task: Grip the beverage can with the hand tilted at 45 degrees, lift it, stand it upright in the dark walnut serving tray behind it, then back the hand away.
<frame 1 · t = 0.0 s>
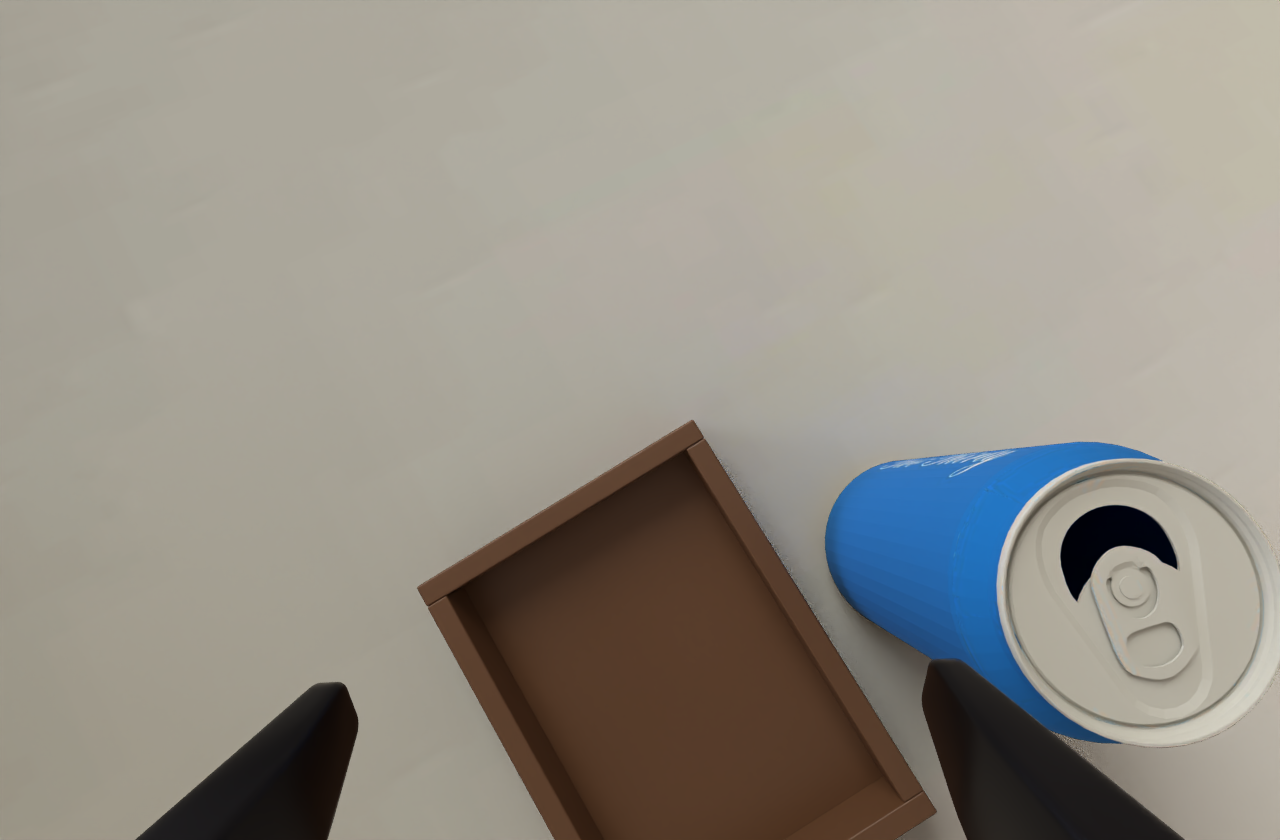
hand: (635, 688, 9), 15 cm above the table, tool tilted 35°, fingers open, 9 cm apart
beverage can: (900, 542, 24), on the table
tray: (667, 673, 24), on the table
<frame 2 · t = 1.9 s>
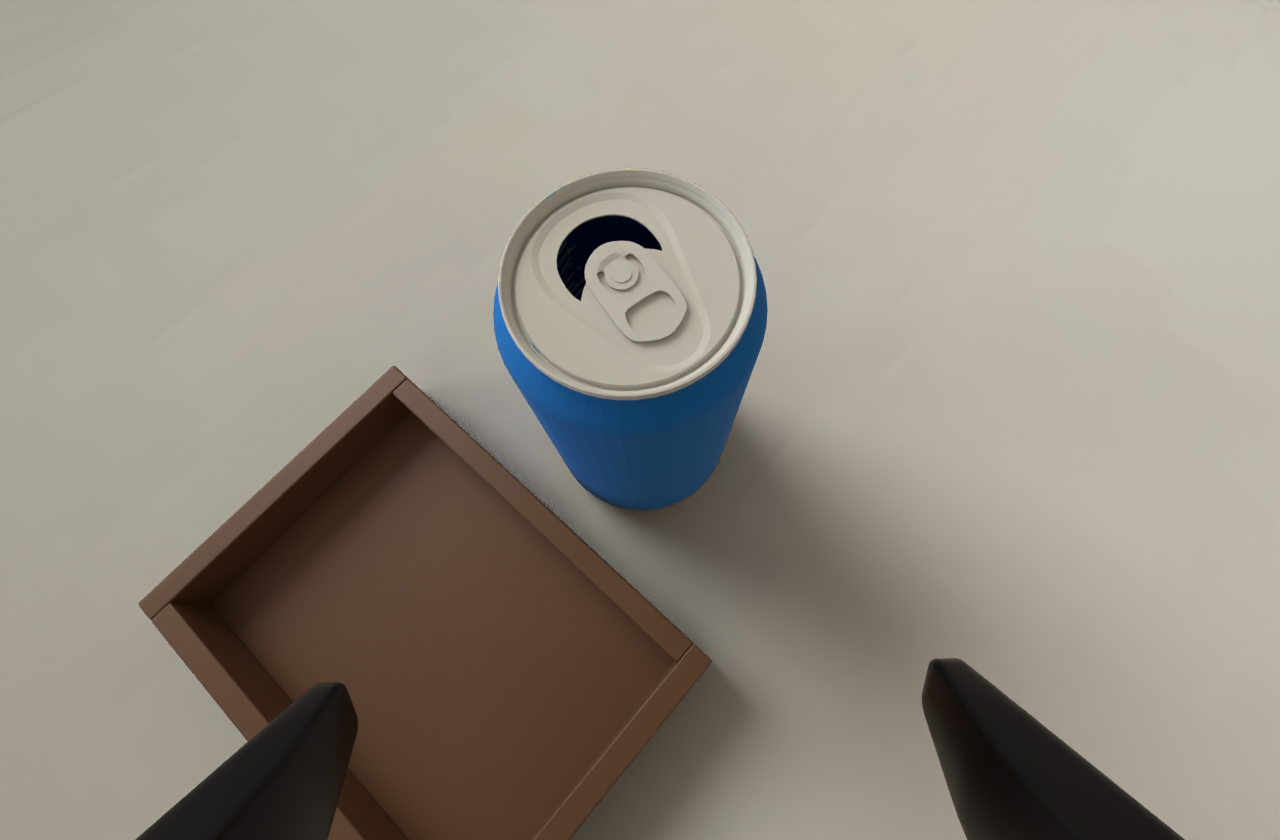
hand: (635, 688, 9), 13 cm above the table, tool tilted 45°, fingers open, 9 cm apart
beverage can: (642, 434, 25), on the table
tray: (443, 630, 23), on the table
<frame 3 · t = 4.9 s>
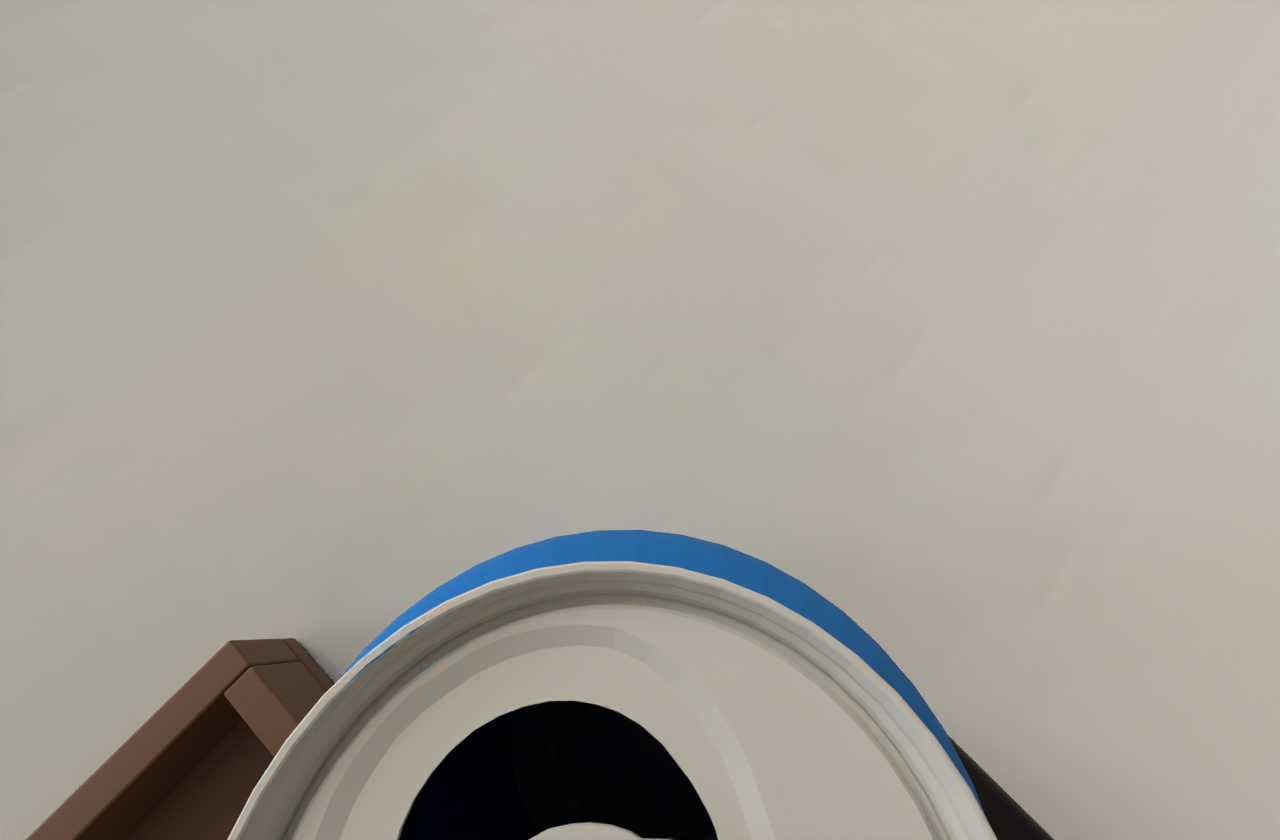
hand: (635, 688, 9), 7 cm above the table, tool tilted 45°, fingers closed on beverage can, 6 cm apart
beverage can: (647, 722, 15), on the table, touching gripper
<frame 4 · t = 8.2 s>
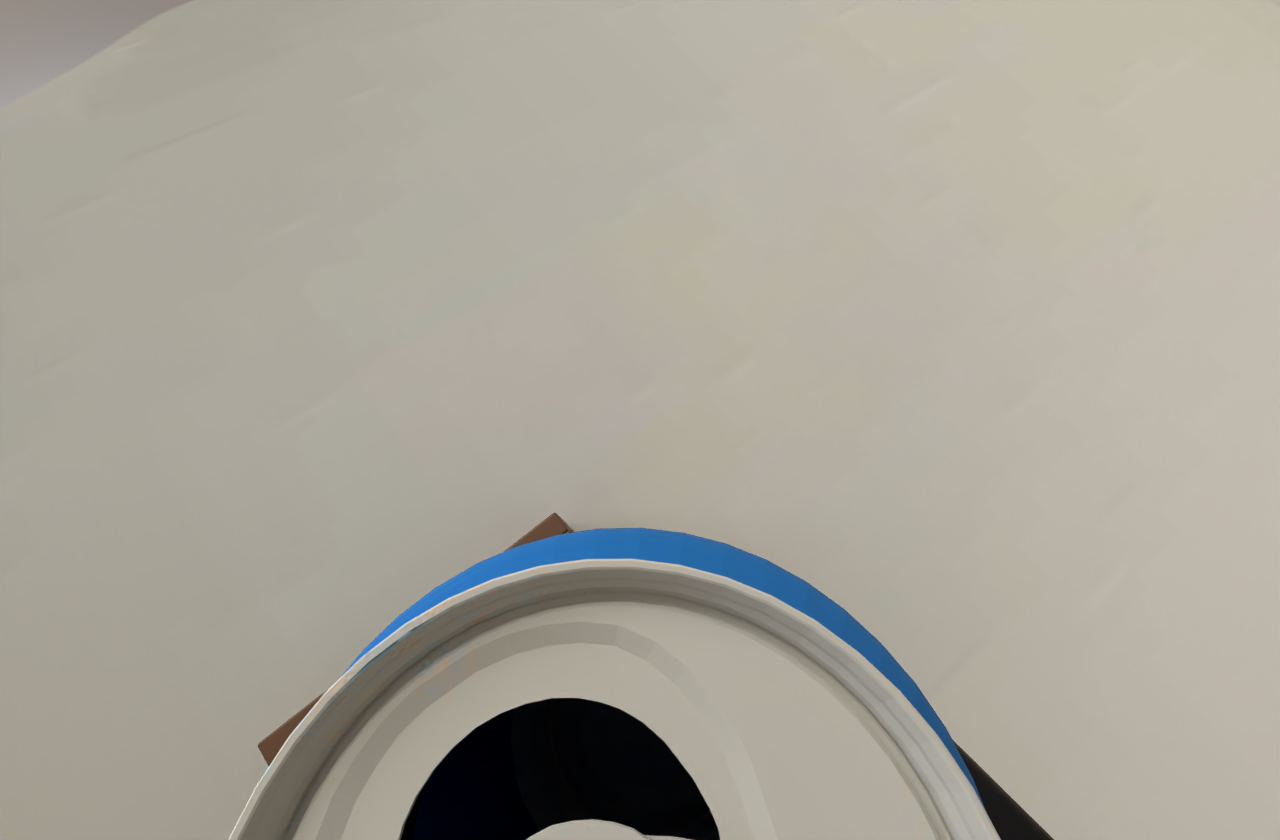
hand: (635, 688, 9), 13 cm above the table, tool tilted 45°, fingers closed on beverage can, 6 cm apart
beverage can: (648, 721, 15), point 6 cm above the table, touching gripper
tray: (565, 812, 21), on the table
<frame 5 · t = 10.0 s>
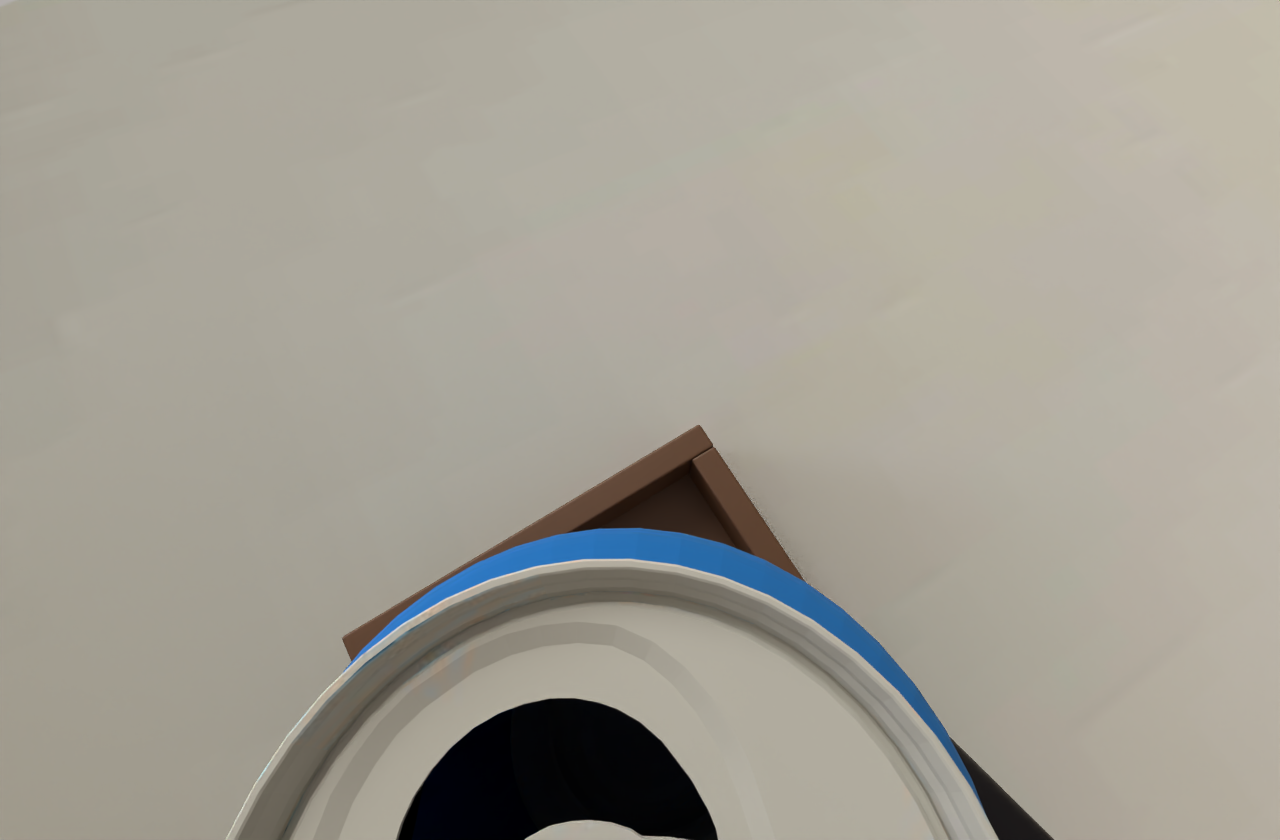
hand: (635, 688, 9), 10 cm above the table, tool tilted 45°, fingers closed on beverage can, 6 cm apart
beverage can: (647, 721, 15), point 3 cm above the table, touching gripper
tray: (672, 769, 18), on the table
when the fingers open (7 cm above the table, at t = 11.4 s): beverage can stays where it is, resting on tray.
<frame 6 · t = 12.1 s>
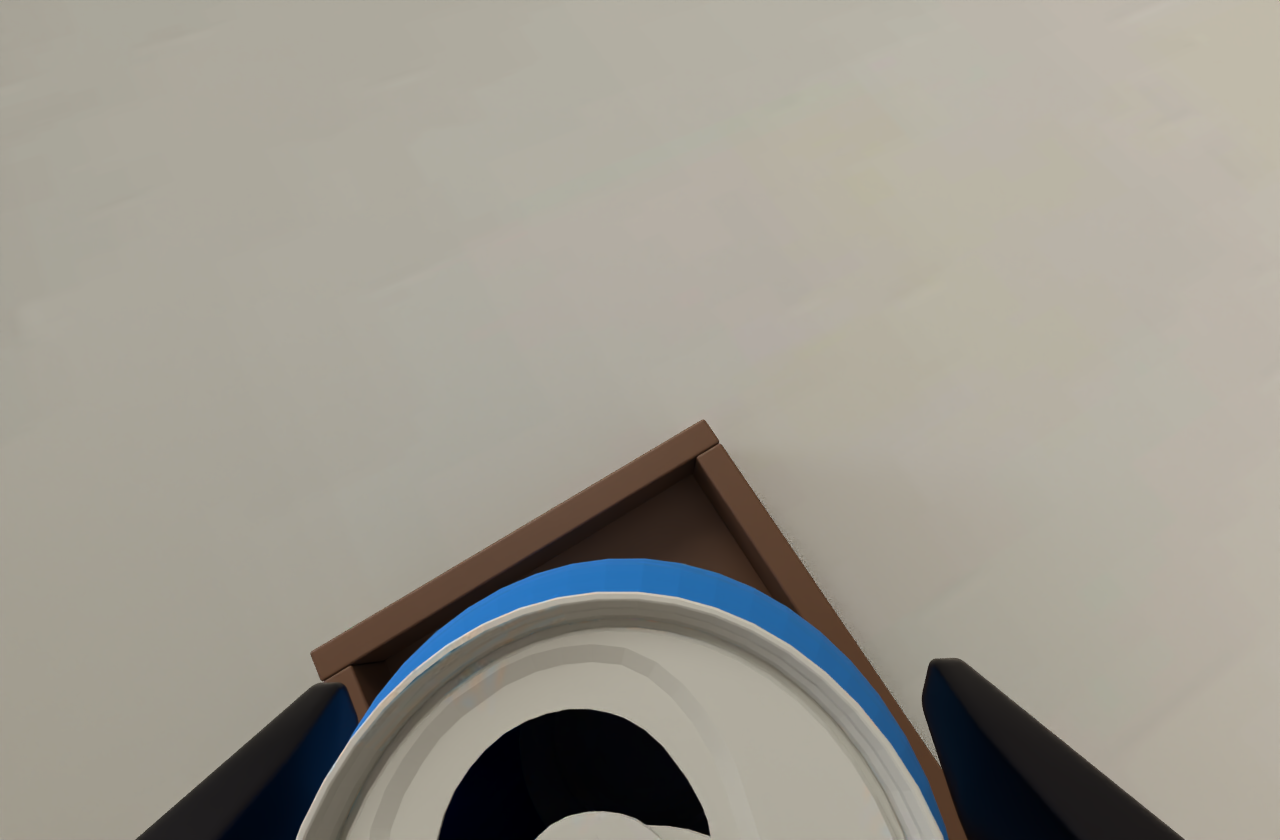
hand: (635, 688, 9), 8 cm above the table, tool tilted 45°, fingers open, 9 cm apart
beverage can: (648, 724, 16), resting on tray
tray: (674, 798, 16), on the table
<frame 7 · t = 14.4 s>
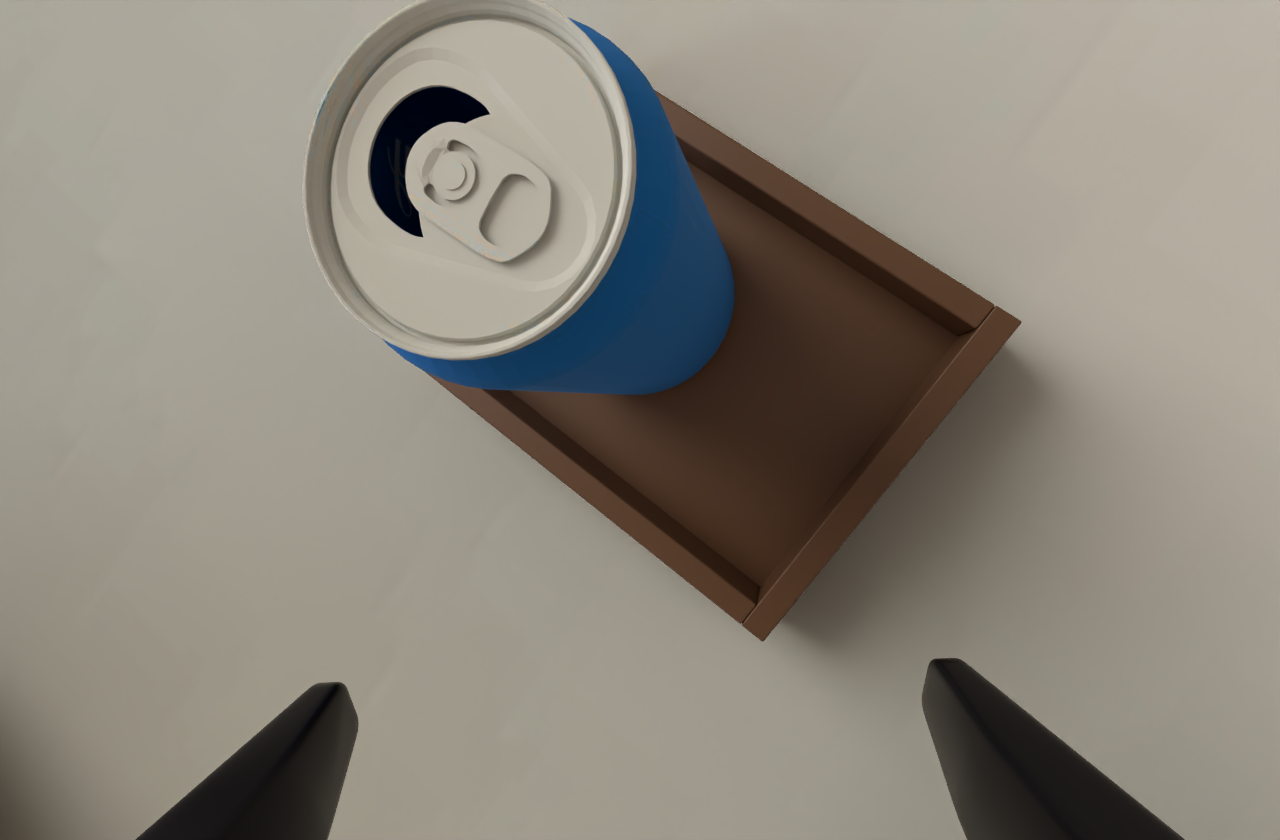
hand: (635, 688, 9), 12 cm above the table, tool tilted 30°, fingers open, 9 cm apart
beverage can: (643, 301, 21), resting on tray
tray: (682, 342, 21), on the table
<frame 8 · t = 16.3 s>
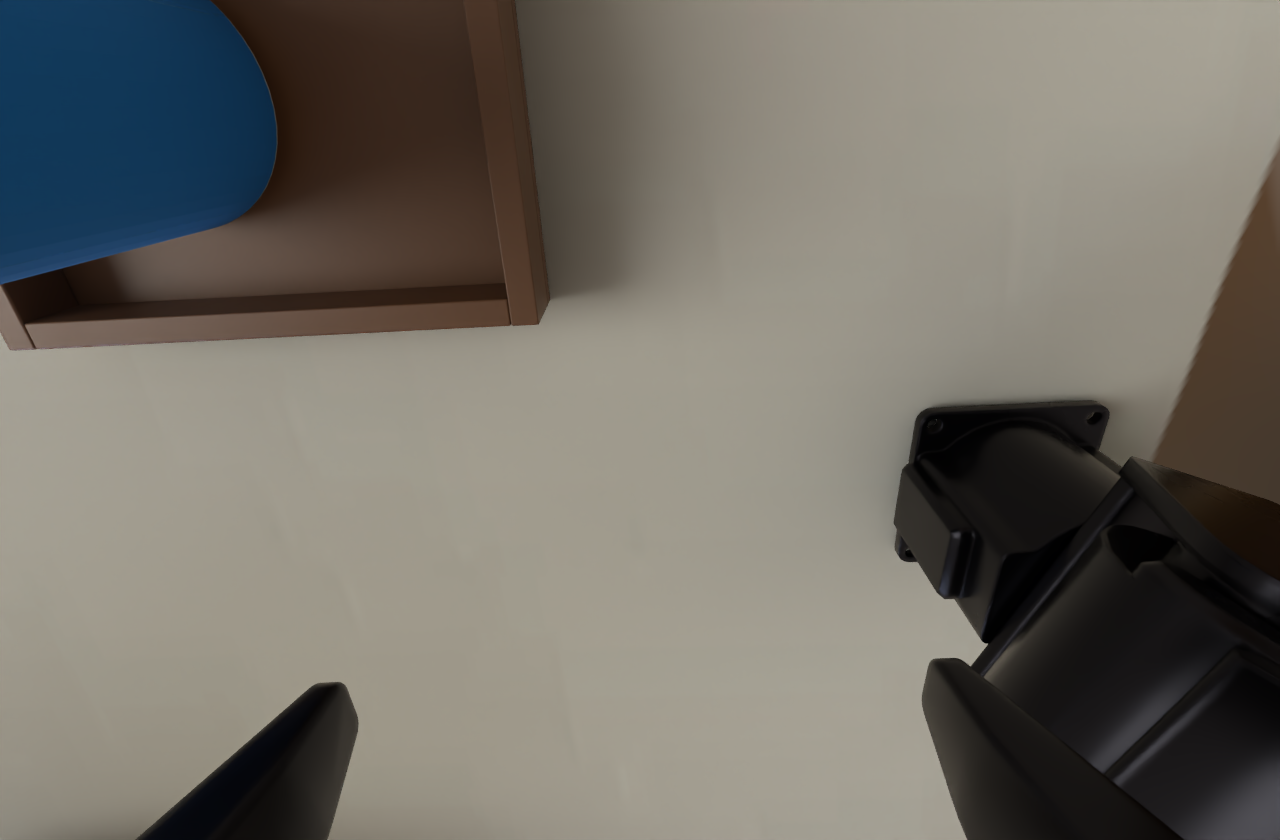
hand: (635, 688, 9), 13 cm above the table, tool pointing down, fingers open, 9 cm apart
beverage can: (176, 104, 17), resting on tray
tray: (256, 115, 18), on the table
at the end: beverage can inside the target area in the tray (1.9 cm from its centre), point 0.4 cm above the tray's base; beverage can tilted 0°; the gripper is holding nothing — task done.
